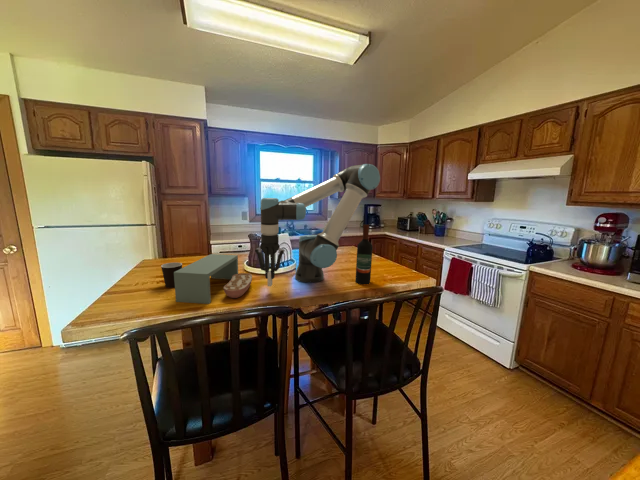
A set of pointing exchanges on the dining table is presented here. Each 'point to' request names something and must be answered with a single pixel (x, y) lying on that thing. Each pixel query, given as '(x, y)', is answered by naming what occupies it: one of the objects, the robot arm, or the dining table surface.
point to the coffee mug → (170, 273)
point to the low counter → (203, 277)
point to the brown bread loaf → (238, 285)
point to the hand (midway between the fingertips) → (270, 285)
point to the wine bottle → (364, 258)
